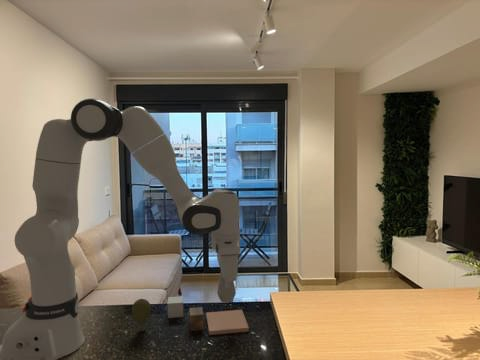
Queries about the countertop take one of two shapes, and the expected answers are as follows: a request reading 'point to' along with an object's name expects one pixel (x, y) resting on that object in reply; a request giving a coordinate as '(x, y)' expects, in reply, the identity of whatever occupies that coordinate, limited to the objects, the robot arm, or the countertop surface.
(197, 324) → the walnut block
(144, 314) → the light bulb
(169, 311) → the pale grey block
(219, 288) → the salt shaker
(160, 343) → the countertop surface
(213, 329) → the terracotta tile
